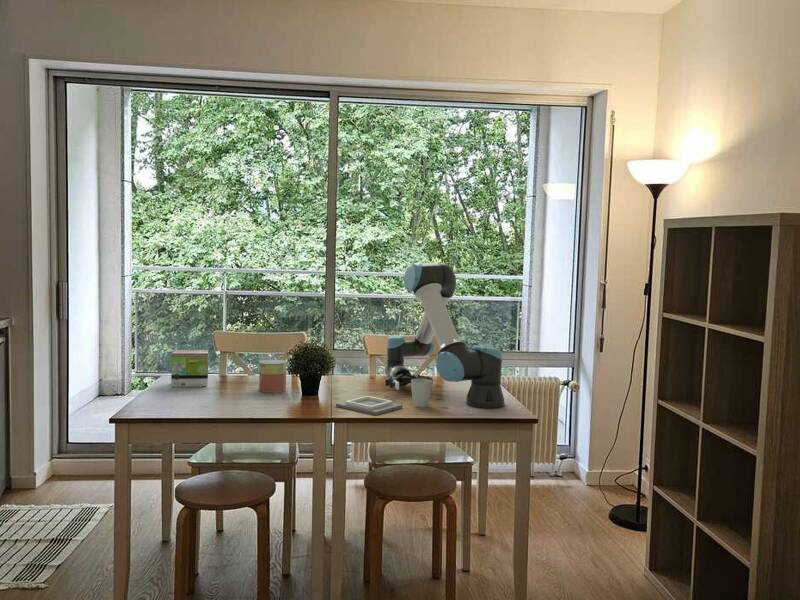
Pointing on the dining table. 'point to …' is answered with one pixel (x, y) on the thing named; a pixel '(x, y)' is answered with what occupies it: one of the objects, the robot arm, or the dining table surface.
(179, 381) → the tea box
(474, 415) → the dining table surface
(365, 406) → the grey rectangular frame
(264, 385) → the canned food
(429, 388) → the cup
